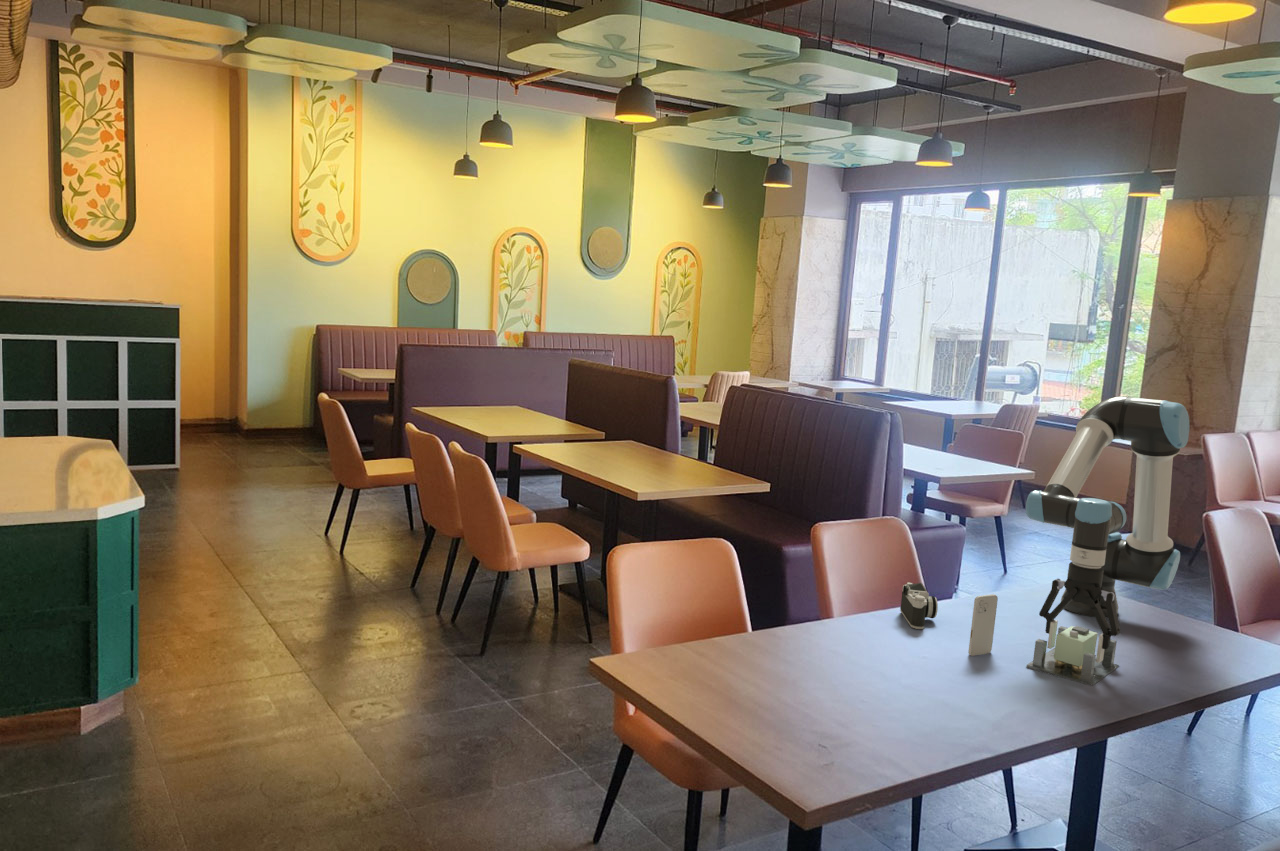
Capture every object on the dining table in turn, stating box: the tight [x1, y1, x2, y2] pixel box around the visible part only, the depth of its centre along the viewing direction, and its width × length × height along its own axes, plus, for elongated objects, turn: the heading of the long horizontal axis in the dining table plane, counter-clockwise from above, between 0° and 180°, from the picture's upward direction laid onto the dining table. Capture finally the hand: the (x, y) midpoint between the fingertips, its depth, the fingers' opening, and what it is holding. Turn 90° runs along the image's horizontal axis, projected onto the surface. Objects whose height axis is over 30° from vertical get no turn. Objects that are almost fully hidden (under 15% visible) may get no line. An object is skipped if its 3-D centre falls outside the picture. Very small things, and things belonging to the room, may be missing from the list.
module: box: [1054, 625, 1098, 667], centre depth 233 cm, size 10×6×7 cm, turn 137°
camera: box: [899, 582, 939, 630], centre depth 264 cm, size 16×9×10 cm, turn 177°
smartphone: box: [968, 593, 999, 657], centre depth 239 cm, size 7×1×15 cm, turn 118°
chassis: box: [1026, 625, 1120, 687], centre depth 234 cm, size 19×15×7 cm
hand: (1074, 654), depth 234 cm, fingers open, 10 cm apart
